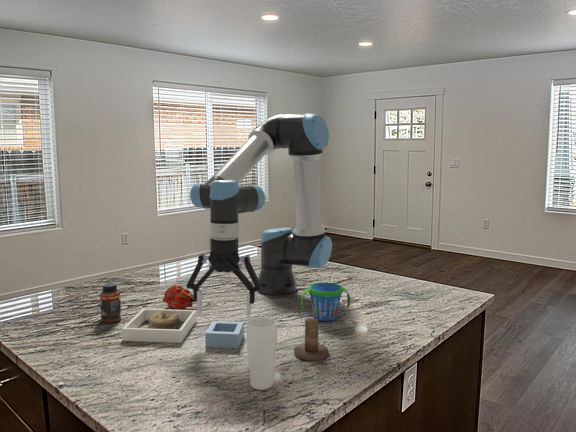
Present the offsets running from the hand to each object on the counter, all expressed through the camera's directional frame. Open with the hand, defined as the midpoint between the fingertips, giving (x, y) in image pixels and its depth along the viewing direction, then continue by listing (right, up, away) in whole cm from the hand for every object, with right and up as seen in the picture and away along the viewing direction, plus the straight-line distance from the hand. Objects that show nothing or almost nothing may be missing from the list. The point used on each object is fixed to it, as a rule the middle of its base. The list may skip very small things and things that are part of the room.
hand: (224, 314), depth 134 cm
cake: (-19, -7, +11) cm, 23 cm away
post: (+24, -9, -6) cm, 26 cm away
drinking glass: (+12, -12, -23) cm, 28 cm away
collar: (0, -8, +1) cm, 8 cm away
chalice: (-12, +5, +91) cm, 92 cm away
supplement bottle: (-37, -5, +17) cm, 41 cm away
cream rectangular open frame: (-19, -7, +9) cm, 22 cm away
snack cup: (+29, -6, +21) cm, 36 cm away
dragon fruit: (-18, -4, +27) cm, 33 cm away
